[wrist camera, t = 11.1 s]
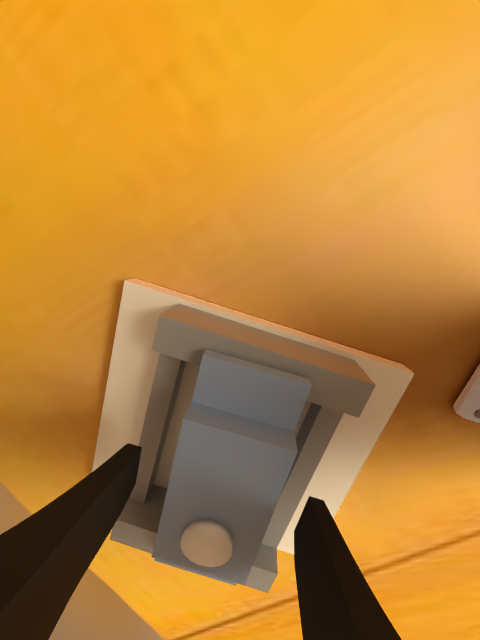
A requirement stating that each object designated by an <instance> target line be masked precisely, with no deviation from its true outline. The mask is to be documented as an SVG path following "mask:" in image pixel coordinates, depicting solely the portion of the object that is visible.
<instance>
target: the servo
mask: <svg viewBox="0 0 480 640" xmlns="http://www.w3.org/2000/svg"><path fill="white" fill-rule="evenodd" d="M311 387H312V384H311V381H310V379H309V378H306V377H302V376H299V375H295V374H292V373H288V372H285V371H281V370H277V369H274V368H270V367H267V366H263V365H260V364H256V363H253V362H249V361H246V360H242V359H238V358H235V357H231V356H228V355H224V354H221V353H217V352H214V351H210V350H205V352H204V354H203V356H202V360H201V365H200V369H199V373H198V377H197V382H196V386H195V390H194V394H193V399H192V402H191V404H190V406H189V408H188V410H187V412H186V414H185V416H184V418H183V423H182V427H181V431H180V436H179V440H178V444H177V449H176V453H175V458H174V462H173V466H172V471H171V475H170V479H169V484H168V488H167V493H166V497H165V501H164V506H163V510H162V514H161V519H160V523H159V528H158V532H157V536H156V541H155V545H154V549H153V554H152V557H153V558H155V561H157V562H161V563H164V564H167V565H170V566H174V567H177V568H180V569H183V570H187V571H190V572H193V573H196V574H200V575H203V576H206V577H209V578H213V579H216V580H219V581H222V582H226V583H229V584H232V585H236V583H238V584H241V585H245V583H246V581H247V578H248V576H249V573H250V571H251V568H252V566H253V563H254V561H255V558H256V555H257V553H258V550H259V548H260V545H261V543H262V540H263V538H264V535H265V533H266V530H267V528H268V525H269V523H270V520H271V518H272V515H273V513H274V510H275V508H276V505H277V503H278V500H279V498H280V495H281V493H282V490H283V488H284V485H285V483H286V480H287V478H288V475H289V473H290V470H291V468H292V465H293V463H294V460H295V458H296V455H297V453H298V450H297V444H296V438H295V432H294V431H295V429H296V426H297V423H298V421H299V418H300V416H301V413H302V410H303V408H304V405H305V403H306V400H307V397H308V395H309V392H310V389H311Z"/></svg>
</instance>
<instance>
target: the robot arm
mask: <svg viewBox="0 0 480 640" xmlns="http://www.w3.org/2000/svg"><path fill="white" fill-rule="evenodd" d="M453 407H454V411H455V412H456V413H457V414H458V415H459V416H461V417H462V418H465V419H468V420H471V421H474V422H477V423H480V364H479V366H478V367H477V369H476V370H475V372H474V374H473V375H472V377H471V378H470V380H469V381H468V383H467V385H466V386H465V388H464V389H463V391H462V392H461V394H460V396H459V397H458V399H457V400H456V402H455V404H454V406H453ZM478 409H479V411H478V412H476V413H475V411H476V410H478ZM141 451H142V447H140V446H136V445H133V444H130V443H128V444H126V445H124V446H123V447H122V448H121V449H120V450H119V451H117V452H116V453H115V454H114V455H113V456H112V457H110V458H109V459H108V460H107V461H105V462H104V463H103V464H102V465H101V466H99V467H98V468H97V469H96V470H94V471H93V472H92V473H90V474H89V475H88V476H86V477H85V478H84V479H83V480H81V481H80V482H79V483H77V484H76V485H75V486H73V487H72V488H71V489H69V490H68V491H66V492H65V493H64V494H62V495H61V496H59V497H58V498H57V499H55V500H54V501H52V502H51V503H49V504H48V505H47V506H45V507H44V508H42V509H41V510H39V511H38V512H36V513H35V514H33V515H31V516H30V517H28V518H27V519H25V520H24V521H22V522H20V523H19V524H17V525H16V526H14V527H12V528H11V529H9V530H8V531H6V532H4V533H2V534H1V535H0V640H48V639H49V637H50V635H51V633H52V632H53V630H54V628H55V626H56V624H57V622H58V620H59V618H60V616H61V614H62V613H63V611H64V609H65V607H66V605H67V603H68V601H69V599H70V597H71V596H72V594H73V592H74V590H75V589H76V587H77V585H78V583H79V582H80V580H81V578H82V577H83V575H84V573H85V572H86V570H87V568H88V567H89V565H90V564H91V562H92V560H93V559H94V557H95V555H96V554H97V552H98V550H99V549H100V547H101V546H102V544H103V542H104V541H105V539H106V537H107V536H108V534H109V532H110V531H111V529H112V527H113V526H114V524H115V523H116V521H117V519H118V518H119V516H120V514H121V513H122V511H123V509H124V507H125V505H126V503H127V501H128V499H129V497H130V495H131V493H132V490H133V488H134V486H135V484H136V479H137V473H138V468H139V462H140V456H141ZM294 560H295V572H296V581H297V591H298V599H299V608H300V617H301V625H302V634H303V640H401V638H400V636H399V635H398V633H397V632H396V630H395V629H394V627H393V626H392V624H391V622H390V621H389V619H388V618H387V616H386V614H385V613H384V611H383V609H382V608H381V606H380V604H379V602H378V601H377V599H376V597H375V596H374V594H373V592H372V591H371V589H370V587H369V585H368V584H367V582H366V580H365V578H364V576H363V575H362V573H361V571H360V569H359V567H358V565H357V564H356V562H355V560H354V558H353V556H352V554H351V552H350V551H349V549H348V547H347V545H346V543H345V541H344V539H343V537H342V535H341V533H340V531H339V529H338V527H337V525H336V523H335V521H334V519H333V517H332V515H331V513H330V511H329V509H328V507H327V506H326V504H325V502H324V500H321V499H318V498H314V497H311V496H309V498H308V500H307V502H306V505H305V507H304V509H303V512H302V514H301V516H300V518H299V521H298V523H297V525H296V528H295V530H294Z"/></svg>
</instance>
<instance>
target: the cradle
mask: <svg viewBox="0 0 480 640" xmlns="http://www.w3.org/2000/svg"><path fill="white" fill-rule="evenodd" d="M205 350H210V351H214V352H217V353H221V354H224V355H228V356H231V357H235V358H238V359H242V360H246V361H249V362H253V363H256V364H260V365H263V366H267V367H270V368H274V369H277V370H281V371H285V372H288V373H292V374H295V375H299V376H302V377H306V378H309V379H310V381H311V384H312V387H311V389H310V392H309V395H308V397H307V400H306V403H305V405H304V408H303V410H302V413H301V416H300V418H299V421H298V423H297V426H296V429H295V431H294V432H295V438H296V444H297V450H298V453H297V455H296V458H295V460H294V463H293V465H292V468H291V470H290V473H289V475H288V478H287V480H286V483H285V485H284V488H283V490H282V493H281V495H280V498H279V500H278V503H277V505H276V508H275V510H274V513H273V515H272V518H271V520H270V523H269V525H268V528H267V530H266V533H265V535H264V538H263V540H262V543H261V545H260V548H259V550H258V553H257V555H256V558H255V561H254V563H253V566H252V568H251V571H250V573H249V576H248V578H247V581H246V583H245V585H246V586H249V587H252V588H255V589H257V590H260V591H263V592H266V593H268V591H269V589H270V588H271V586H272V584H273V582H274V580H275V578H276V576H277V549H278V550H281V551H284V552H287V553H290V554H293V555H294V530H295V528H296V525H297V523H298V521H299V518H300V516H301V514H302V512H303V509H304V507H305V505H306V502H307V500H308V498H309V496H311V497H314V498H318V499H321V500H324V502H325V504H326V506H327V507H328V509H329V511H330V513H331V515H332V517H333V518H334V516H335V515H336V513H337V511H338V509H339V507H340V506H341V504H342V502H343V500H344V499H345V497H346V495H347V493H348V491H349V490H350V488H351V486H352V484H353V483H354V481H355V479H356V477H357V476H358V474H359V472H360V470H361V468H362V467H363V465H364V463H365V461H366V460H367V458H368V456H369V454H370V452H371V451H372V449H373V447H374V445H375V444H376V442H377V440H378V438H379V436H380V435H381V433H382V431H383V429H384V428H385V426H386V424H387V422H388V420H389V419H390V417H391V415H392V413H393V412H394V410H395V408H396V406H397V404H398V403H399V401H400V399H401V397H402V396H403V394H404V392H405V390H406V388H407V387H408V385H409V383H410V381H411V380H412V378H413V376H414V373H413V372H412V371H411V370H409V369H408V368H407V367H406V366H404V365H403V364H400V363H397V362H394V361H391V360H388V359H385V358H382V357H379V356H375V355H372V354H369V353H366V352H363V351H360V350H357V349H354V348H351V347H348V346H344V345H341V344H338V343H335V342H332V341H329V340H326V339H323V338H320V337H316V336H313V335H310V334H307V333H304V332H301V331H298V330H295V329H292V328H289V327H285V326H282V325H279V324H276V323H273V322H270V321H267V320H264V319H261V318H257V317H254V316H251V315H248V314H245V313H242V312H239V311H236V310H233V309H230V308H226V307H223V306H220V305H217V304H214V303H211V302H208V301H205V300H202V299H198V298H195V297H192V296H189V295H186V294H183V293H180V292H177V291H174V290H171V289H167V288H164V287H161V286H158V285H155V284H152V283H149V282H146V281H143V280H139V279H136V278H134V279H128V280H125V281H124V286H123V292H122V298H121V304H120V310H119V316H118V321H117V327H116V333H115V339H114V345H113V351H112V356H111V362H110V368H109V374H108V380H107V386H106V391H105V397H104V403H103V409H102V415H101V421H100V426H99V432H98V438H97V444H96V450H95V456H94V461H93V467H92V472H93V471H94V470H96V469H97V468H98V467H99V466H101V465H102V464H103V463H104V462H105V461H107V460H108V459H109V458H110V457H112V456H113V455H114V454H115V453H116V452H117V451H119V450H120V449H121V448H122V447H123V446H124V445H126V444H128V443H130V444H133V445H136V446H140V447H142V451H141V456H140V462H139V468H138V473H137V479H136V484H135V486H134V488H133V490H132V493H131V495H130V497H129V499H128V501H127V503H126V505H125V507H124V509H123V511H122V513H121V514H120V516H119V518H118V519H117V521H116V523H115V524H114V526H113V528H112V532H111V537H110V540H113V541H116V542H119V543H122V544H125V545H128V546H131V547H134V548H137V549H140V550H143V551H146V552H149V553H151V554H153V549H154V545H155V541H156V536H157V532H158V528H159V523H160V519H161V514H162V510H163V506H164V501H165V497H166V493H167V488H168V484H169V479H170V475H171V471H172V466H173V462H174V458H175V453H176V449H177V444H178V440H179V436H180V431H181V427H182V423H183V418H184V416H185V414H186V412H187V410H188V408H189V406H190V404H191V402H192V399H193V394H194V390H195V386H196V382H197V377H198V373H199V369H200V365H201V360H202V356H203V354H204V352H205Z"/></svg>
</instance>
